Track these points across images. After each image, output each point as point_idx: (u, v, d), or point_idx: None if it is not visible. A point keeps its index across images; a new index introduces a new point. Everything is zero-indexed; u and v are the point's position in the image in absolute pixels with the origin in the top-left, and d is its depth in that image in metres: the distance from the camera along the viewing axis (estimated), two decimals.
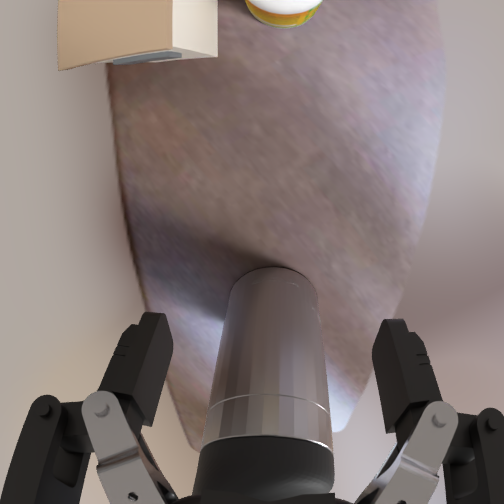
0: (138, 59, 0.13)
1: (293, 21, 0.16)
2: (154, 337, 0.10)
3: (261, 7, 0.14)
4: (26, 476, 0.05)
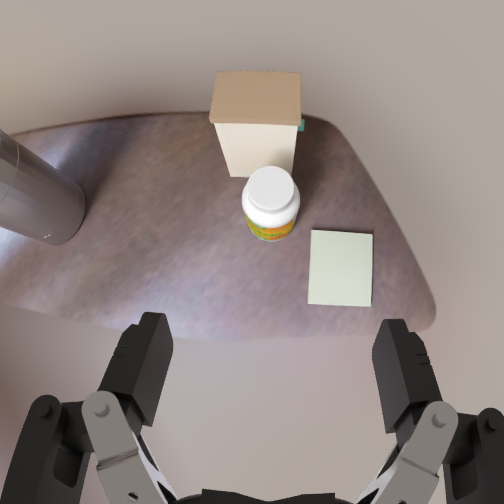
0: None
1: None
2: (154, 337, 0.10)
3: (246, 184, 0.29)
4: (26, 476, 0.05)
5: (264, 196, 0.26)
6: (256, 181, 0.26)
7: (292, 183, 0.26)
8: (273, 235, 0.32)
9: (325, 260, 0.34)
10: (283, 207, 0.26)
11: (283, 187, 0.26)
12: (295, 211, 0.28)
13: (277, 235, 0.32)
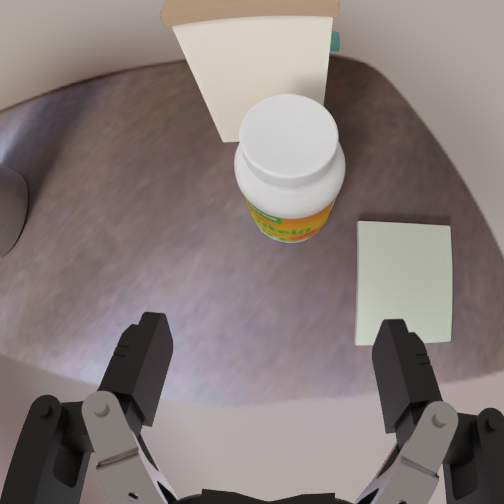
0: None
1: None
2: (154, 337, 0.10)
3: None
4: (26, 476, 0.05)
5: (277, 150, 0.12)
6: (258, 123, 0.12)
7: (333, 124, 0.12)
8: (296, 232, 0.18)
9: (383, 271, 0.19)
10: (317, 173, 0.12)
11: (316, 131, 0.12)
12: (339, 184, 0.14)
13: (303, 232, 0.18)
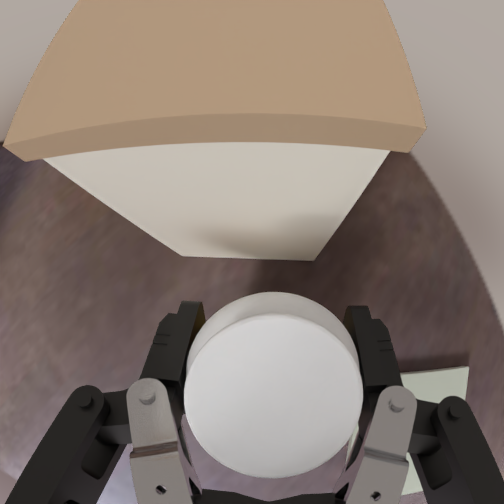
0: None
1: None
2: (194, 324, 0.10)
3: (198, 333, 0.09)
4: (51, 463, 0.06)
5: (251, 438, 0.06)
6: (217, 382, 0.06)
7: (357, 385, 0.06)
8: None
9: None
10: (316, 463, 0.06)
11: (324, 403, 0.06)
12: None
13: None
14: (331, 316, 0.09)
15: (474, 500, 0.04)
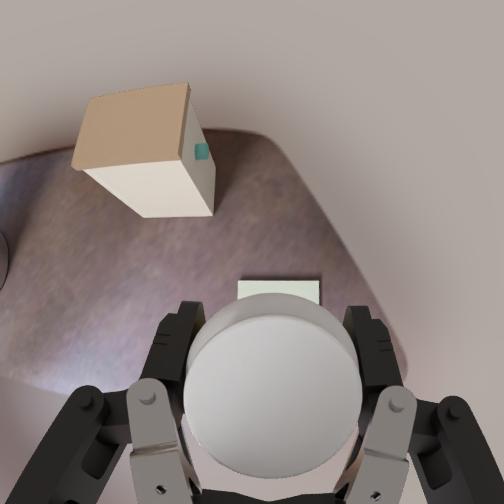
0: None
1: None
2: (194, 324, 0.10)
3: (197, 334, 0.09)
4: (51, 463, 0.06)
5: (250, 439, 0.06)
6: (217, 383, 0.06)
7: (356, 386, 0.06)
8: None
9: None
10: (315, 463, 0.06)
11: (324, 404, 0.06)
12: None
13: None
14: (330, 317, 0.09)
15: (474, 500, 0.04)
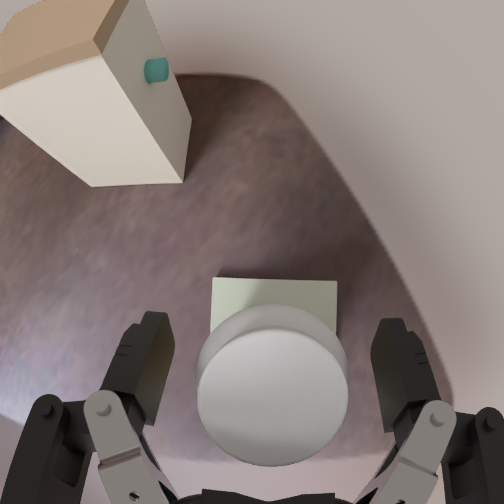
0: None
1: None
2: (156, 336, 0.10)
3: (206, 340, 0.11)
4: (27, 475, 0.05)
5: (254, 433, 0.07)
6: (226, 386, 0.08)
7: (343, 389, 0.07)
8: None
9: None
10: (308, 453, 0.07)
11: (315, 404, 0.07)
12: None
13: None
14: (323, 326, 0.10)
15: None
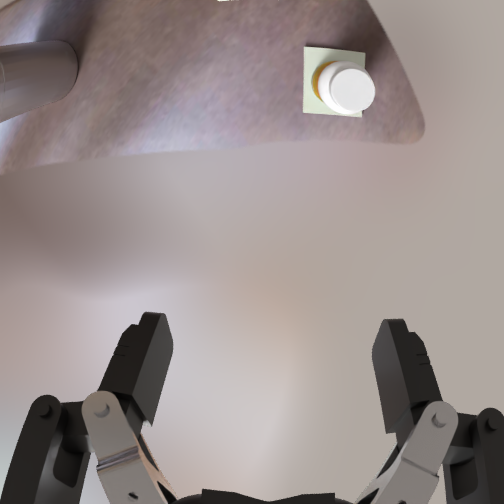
0: None
1: (314, 89, 0.29)
2: (154, 337, 0.10)
3: (322, 72, 0.25)
4: (26, 476, 0.05)
5: (348, 99, 0.24)
6: (340, 84, 0.23)
7: (373, 88, 0.23)
8: None
9: None
10: (363, 109, 0.24)
11: (365, 91, 0.23)
12: None
13: None
14: (364, 70, 0.24)
15: None
